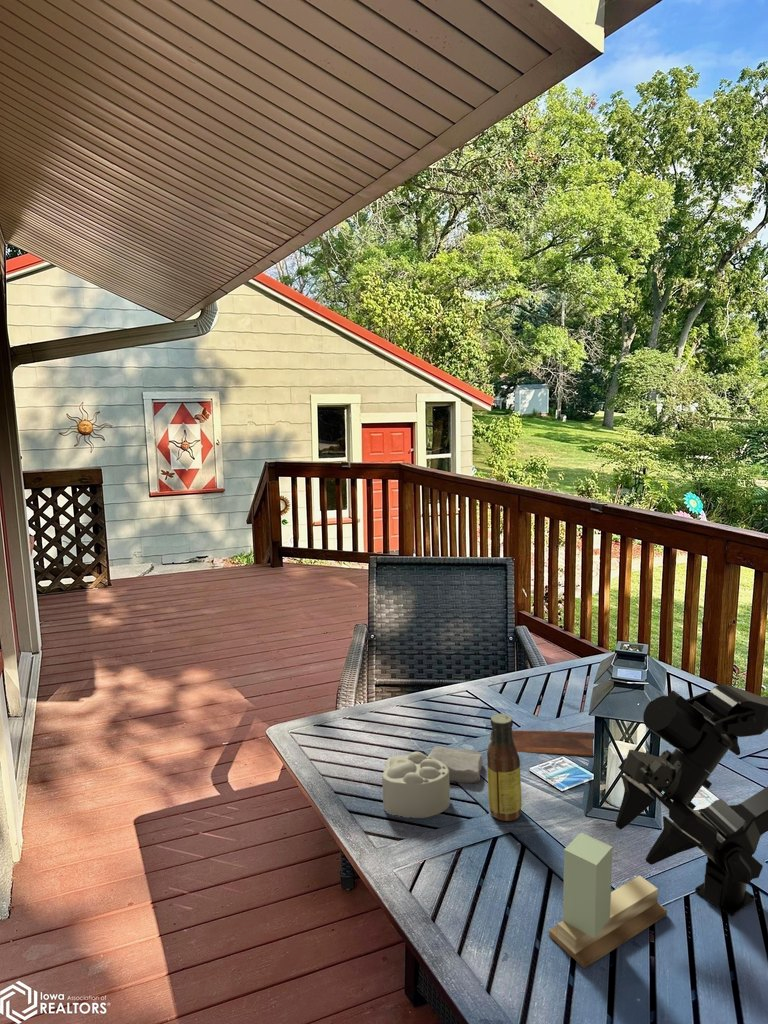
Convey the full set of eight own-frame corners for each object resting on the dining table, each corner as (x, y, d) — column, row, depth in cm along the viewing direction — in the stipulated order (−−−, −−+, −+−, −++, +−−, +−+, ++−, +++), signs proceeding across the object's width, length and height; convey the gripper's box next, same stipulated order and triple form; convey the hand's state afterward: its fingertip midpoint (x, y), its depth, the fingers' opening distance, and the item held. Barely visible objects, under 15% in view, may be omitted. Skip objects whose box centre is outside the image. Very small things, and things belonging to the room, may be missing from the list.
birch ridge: (629, 887, 114) (630, 869, 113) (666, 915, 108) (667, 895, 107) (549, 935, 105) (549, 915, 104) (584, 968, 99) (584, 947, 98)
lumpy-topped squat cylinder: (389, 784, 145) (387, 746, 143) (451, 788, 143) (450, 750, 141) (381, 815, 135) (379, 775, 133) (448, 820, 132) (447, 779, 131)
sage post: (579, 901, 106) (580, 832, 104) (610, 918, 103) (612, 846, 101) (562, 920, 103) (564, 849, 100) (594, 938, 99) (596, 865, 97)
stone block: (431, 762, 155) (422, 779, 146) (433, 741, 155) (423, 756, 146) (484, 771, 152) (478, 788, 143) (486, 749, 152) (479, 765, 143)
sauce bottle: (526, 809, 135) (527, 715, 131) (513, 827, 130) (513, 730, 126) (495, 799, 138) (495, 707, 134) (481, 815, 133) (480, 721, 129)
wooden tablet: (489, 746, 156) (491, 720, 165) (489, 754, 157) (491, 728, 166) (612, 755, 151) (606, 727, 160) (611, 764, 152) (606, 736, 161)
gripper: (624, 709, 112) (567, 786, 112) (690, 761, 94) (623, 854, 94) (673, 744, 114) (617, 821, 114) (748, 803, 96) (682, 894, 96)
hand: (632, 844), depth 105 cm, fingers open, 9 cm apart
